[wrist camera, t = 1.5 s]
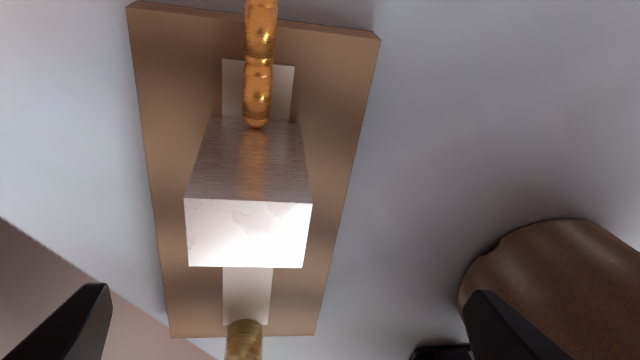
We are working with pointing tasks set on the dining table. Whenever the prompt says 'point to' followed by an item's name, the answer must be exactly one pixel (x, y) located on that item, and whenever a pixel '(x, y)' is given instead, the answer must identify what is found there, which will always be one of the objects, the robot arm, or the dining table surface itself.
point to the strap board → (226, 101)
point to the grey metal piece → (250, 171)
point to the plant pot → (567, 286)
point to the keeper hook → (244, 340)
